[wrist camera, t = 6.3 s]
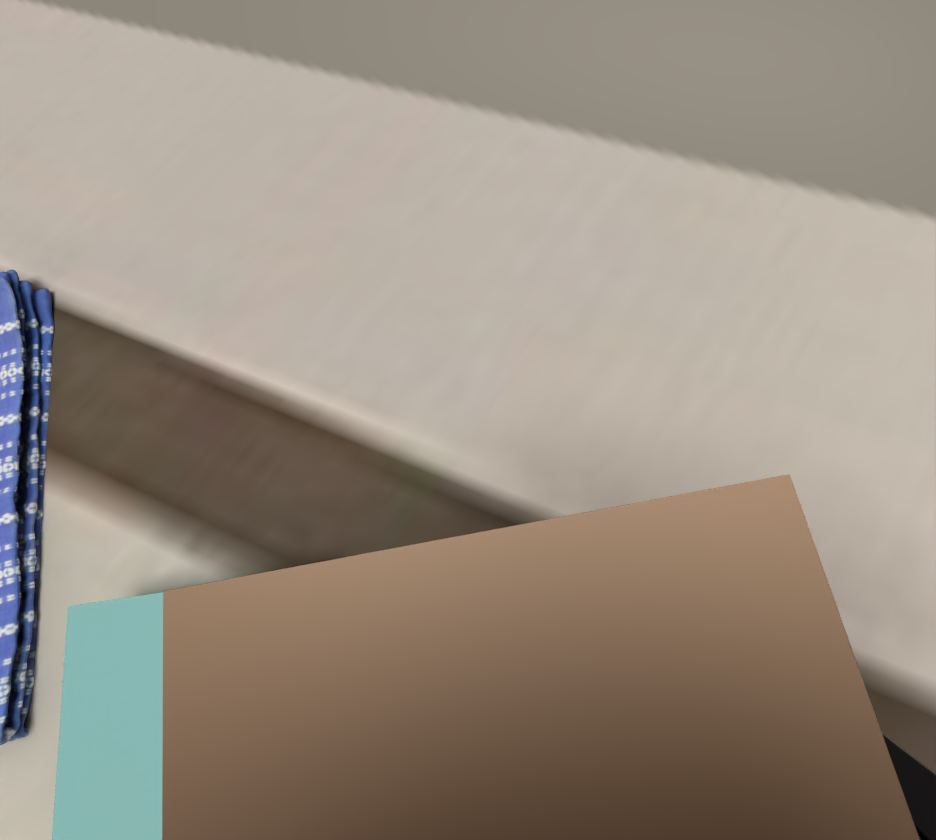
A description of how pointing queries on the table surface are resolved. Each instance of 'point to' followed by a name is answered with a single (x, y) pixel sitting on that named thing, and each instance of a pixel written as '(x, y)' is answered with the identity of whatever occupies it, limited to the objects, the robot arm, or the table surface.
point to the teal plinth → (111, 722)
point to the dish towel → (21, 486)
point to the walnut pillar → (533, 688)
